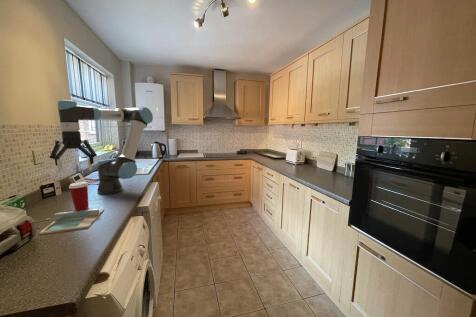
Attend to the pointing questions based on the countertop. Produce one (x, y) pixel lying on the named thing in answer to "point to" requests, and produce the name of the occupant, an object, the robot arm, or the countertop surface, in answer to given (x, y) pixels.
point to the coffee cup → (79, 195)
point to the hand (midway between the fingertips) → (76, 170)
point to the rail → (76, 214)
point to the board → (70, 224)
